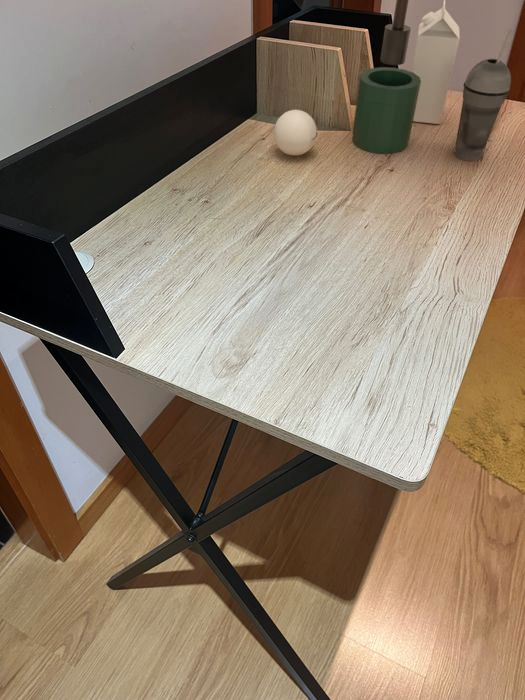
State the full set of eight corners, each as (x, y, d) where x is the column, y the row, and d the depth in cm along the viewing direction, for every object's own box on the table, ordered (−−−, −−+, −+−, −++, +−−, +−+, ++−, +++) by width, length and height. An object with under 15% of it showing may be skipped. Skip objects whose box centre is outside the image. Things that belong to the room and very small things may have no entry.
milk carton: (440, 110, 113) (465, 1, 100) (439, 125, 108) (466, 13, 95) (403, 106, 114) (424, -2, 101) (401, 121, 110) (422, 9, 96)
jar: (404, 130, 107) (416, 68, 99) (410, 155, 100) (424, 90, 92) (351, 128, 107) (358, 66, 99) (353, 152, 100) (362, 88, 92)
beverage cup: (453, 142, 103) (484, 18, 89) (493, 151, 101) (532, 26, 87) (441, 158, 99) (472, 31, 85) (483, 168, 96) (522, 39, 82)
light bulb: (309, 166, 96) (312, 123, 91) (267, 159, 98) (268, 116, 93) (324, 141, 103) (327, 100, 98) (284, 135, 105) (286, 94, 99)
